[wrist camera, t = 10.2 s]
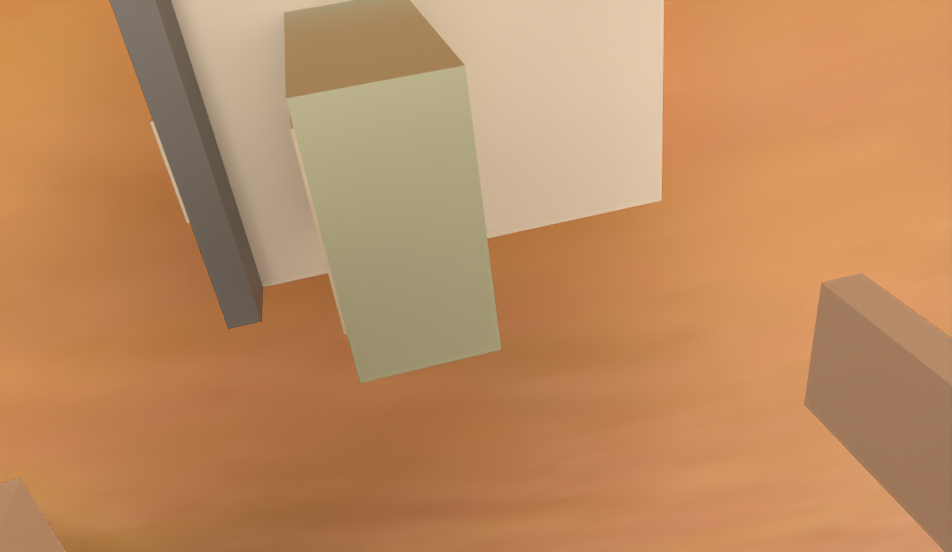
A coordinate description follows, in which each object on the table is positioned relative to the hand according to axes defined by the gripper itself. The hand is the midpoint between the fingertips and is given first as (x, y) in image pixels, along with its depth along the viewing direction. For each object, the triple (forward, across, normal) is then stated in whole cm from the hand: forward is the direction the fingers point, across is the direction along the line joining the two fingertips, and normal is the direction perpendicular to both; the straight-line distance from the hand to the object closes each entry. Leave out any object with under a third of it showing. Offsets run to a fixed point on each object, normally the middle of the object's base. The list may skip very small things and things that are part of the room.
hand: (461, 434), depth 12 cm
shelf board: (+18, +3, 0) cm, 18 cm away
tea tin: (+17, 0, 0) cm, 17 cm away
